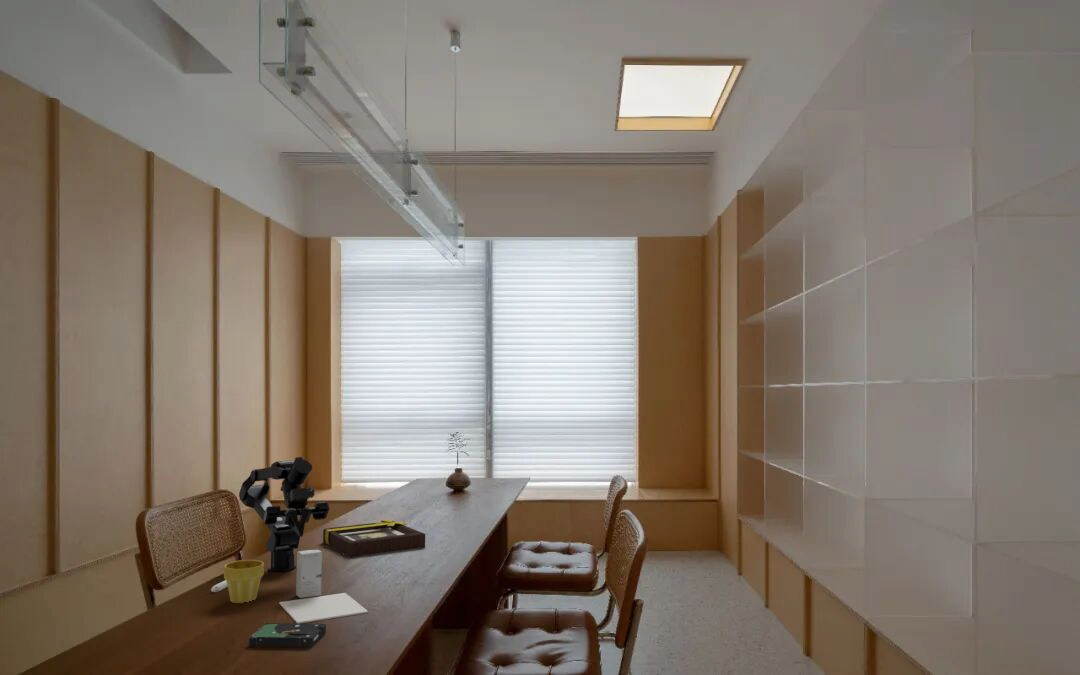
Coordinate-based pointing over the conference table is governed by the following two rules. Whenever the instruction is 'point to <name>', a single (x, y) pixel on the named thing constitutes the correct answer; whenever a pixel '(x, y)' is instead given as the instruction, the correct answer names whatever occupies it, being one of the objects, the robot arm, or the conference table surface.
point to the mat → (322, 608)
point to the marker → (219, 586)
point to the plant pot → (243, 579)
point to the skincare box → (309, 573)
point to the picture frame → (373, 538)
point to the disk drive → (287, 635)
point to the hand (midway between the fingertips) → (301, 535)
